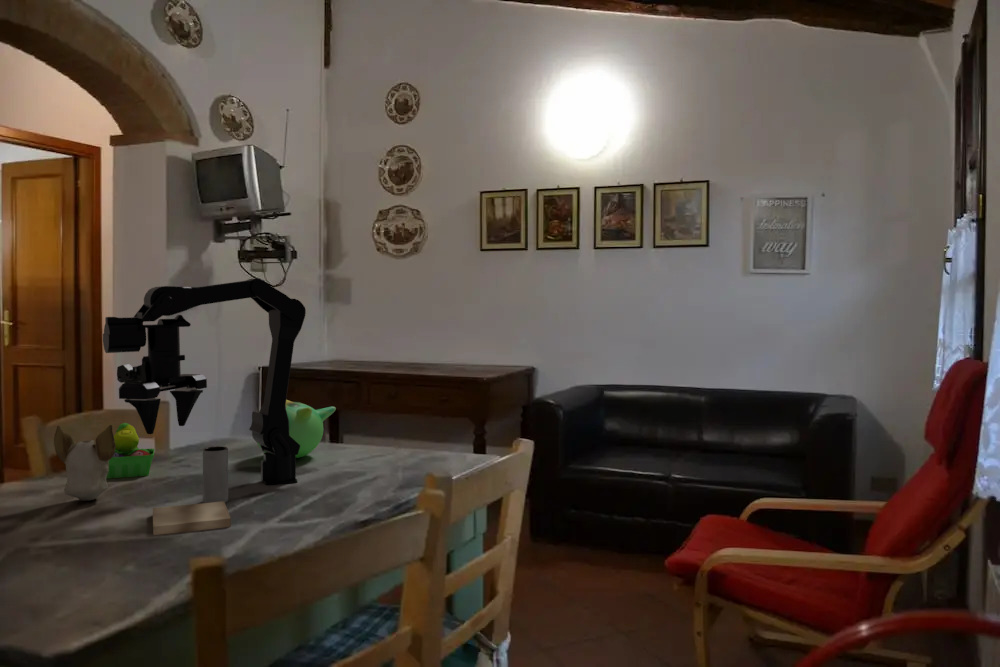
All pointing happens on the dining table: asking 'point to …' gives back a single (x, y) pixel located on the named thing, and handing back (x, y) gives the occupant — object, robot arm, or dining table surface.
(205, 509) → the oak block
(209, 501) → the grey hollow cylinder
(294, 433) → the toy bird
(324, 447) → the dining table surface
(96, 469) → the white eared plush toy
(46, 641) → the dining table surface
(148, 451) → the fruit basket
